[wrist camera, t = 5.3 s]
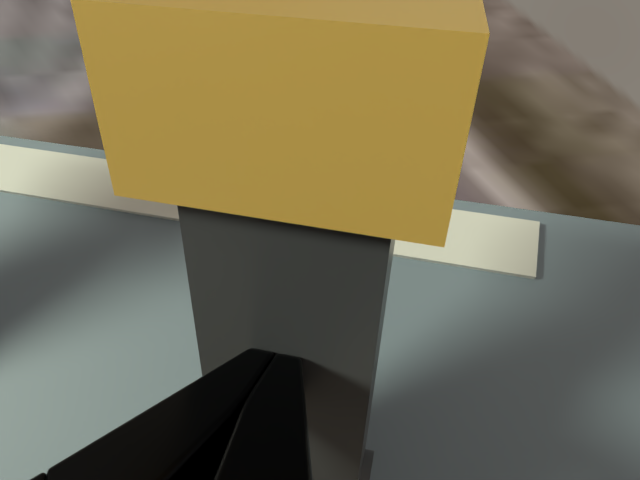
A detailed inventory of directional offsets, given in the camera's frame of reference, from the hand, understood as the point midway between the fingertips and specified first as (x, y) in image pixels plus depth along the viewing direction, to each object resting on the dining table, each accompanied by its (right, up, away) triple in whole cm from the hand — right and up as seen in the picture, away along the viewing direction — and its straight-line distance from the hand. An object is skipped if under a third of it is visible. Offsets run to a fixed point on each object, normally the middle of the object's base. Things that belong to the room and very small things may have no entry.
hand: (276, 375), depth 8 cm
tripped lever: (0, -3, +3) cm, 4 cm away
